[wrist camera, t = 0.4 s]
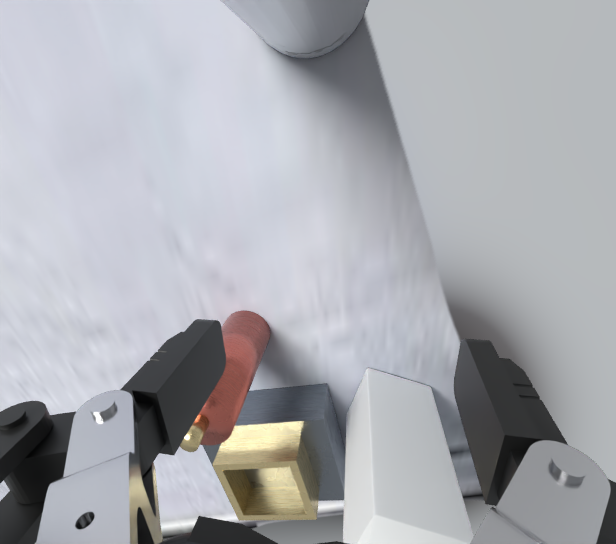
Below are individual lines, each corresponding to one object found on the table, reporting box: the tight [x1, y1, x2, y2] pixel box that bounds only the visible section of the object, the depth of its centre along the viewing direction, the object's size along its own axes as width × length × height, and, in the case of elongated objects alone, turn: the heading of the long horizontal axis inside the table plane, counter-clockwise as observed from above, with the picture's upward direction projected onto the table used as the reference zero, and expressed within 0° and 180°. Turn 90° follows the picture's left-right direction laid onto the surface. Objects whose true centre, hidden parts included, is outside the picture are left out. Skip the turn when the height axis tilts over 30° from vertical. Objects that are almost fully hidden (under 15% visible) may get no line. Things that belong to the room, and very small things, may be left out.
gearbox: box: [203, 384, 346, 520], centre depth 38 cm, size 13×14×8 cm
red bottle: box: [180, 311, 270, 452], centre depth 30 cm, size 5×5×14 cm
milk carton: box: [343, 368, 474, 544], centre depth 29 cm, size 7×7×19 cm
